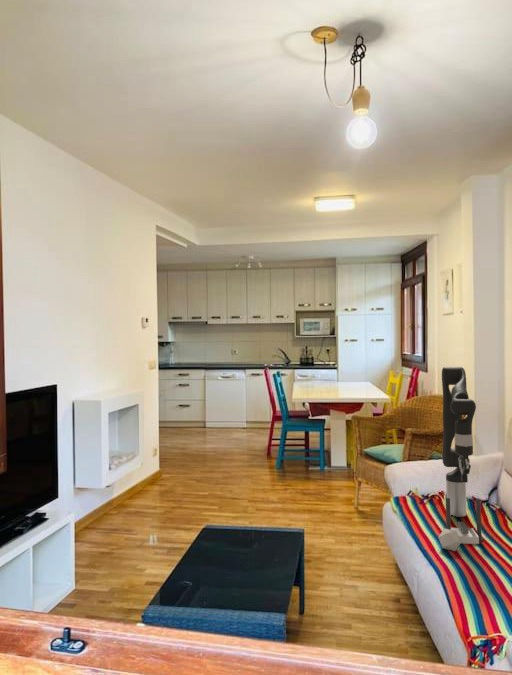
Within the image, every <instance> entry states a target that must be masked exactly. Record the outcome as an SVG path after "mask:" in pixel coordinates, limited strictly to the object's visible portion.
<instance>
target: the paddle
mask: <svg viewBox="0 0 512 675" xmlns="http://www.w3.org/2000/svg"><path fill="white" fill-rule="evenodd" d="M468 528H469V526H466V527H462V534H469V532H468Z"/></svg>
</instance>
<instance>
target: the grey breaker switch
mask: <svg viewBox="0 0 512 675" xmlns="http://www.w3.org/2000/svg"><path fill="white" fill-rule="evenodd" d="M457 523H458V528H460V524H465V521H458V522H457Z"/></svg>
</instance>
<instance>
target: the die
mask: <svg viewBox="0 0 512 675" xmlns="http://www.w3.org/2000/svg"><path fill="white" fill-rule="evenodd" d="M437 538H438V539H439V542H440V545H441V547H442V549H445V550H449V551H451V552H452V551H453V552H456V551H457V549H458V548H459V546H461V544H462V543H461V540H460V538H459V535H458V533H457V531H455V530H450V529H446V528H445V527H444V528H443V530H442V532H441V533H440V534H439V536H438V537H437Z"/></svg>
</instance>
